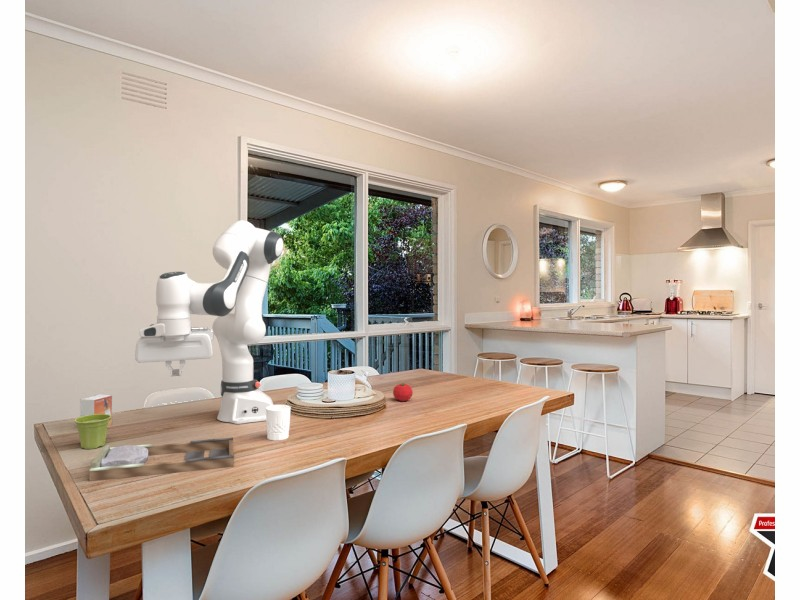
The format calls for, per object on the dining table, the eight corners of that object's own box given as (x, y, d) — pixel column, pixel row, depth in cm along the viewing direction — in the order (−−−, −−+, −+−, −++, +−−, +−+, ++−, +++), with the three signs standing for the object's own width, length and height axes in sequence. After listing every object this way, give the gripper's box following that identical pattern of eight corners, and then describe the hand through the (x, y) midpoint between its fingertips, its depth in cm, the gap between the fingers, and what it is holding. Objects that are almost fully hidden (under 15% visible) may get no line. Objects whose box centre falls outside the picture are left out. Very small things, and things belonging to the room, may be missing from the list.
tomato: (391, 398, 218) (392, 380, 217) (411, 398, 219) (411, 380, 218) (393, 402, 209) (394, 384, 209) (413, 402, 210) (414, 384, 210)
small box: (93, 431, 160) (93, 400, 160) (79, 430, 161) (79, 398, 161) (112, 424, 168) (112, 394, 168) (98, 423, 169) (99, 393, 169)
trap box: (232, 446, 148) (233, 433, 148) (233, 466, 131) (233, 452, 131) (106, 457, 136) (106, 443, 136) (89, 481, 120) (89, 465, 119)
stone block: (149, 462, 138) (111, 458, 136) (152, 446, 138) (114, 441, 136) (138, 480, 127) (96, 475, 124) (142, 462, 127) (100, 457, 124)
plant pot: (70, 453, 139) (71, 423, 139) (78, 443, 148) (78, 415, 148) (108, 449, 143) (108, 420, 143) (113, 440, 152) (113, 412, 151)
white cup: (294, 435, 160) (295, 405, 160) (281, 442, 152) (282, 411, 152) (274, 433, 162) (274, 403, 162) (260, 439, 155) (260, 408, 155)
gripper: (213, 325, 145) (214, 371, 145) (137, 328, 138) (138, 376, 138) (212, 327, 139) (214, 375, 139) (133, 331, 132) (134, 380, 132)
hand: (176, 375), depth 139 cm, fingers closed
